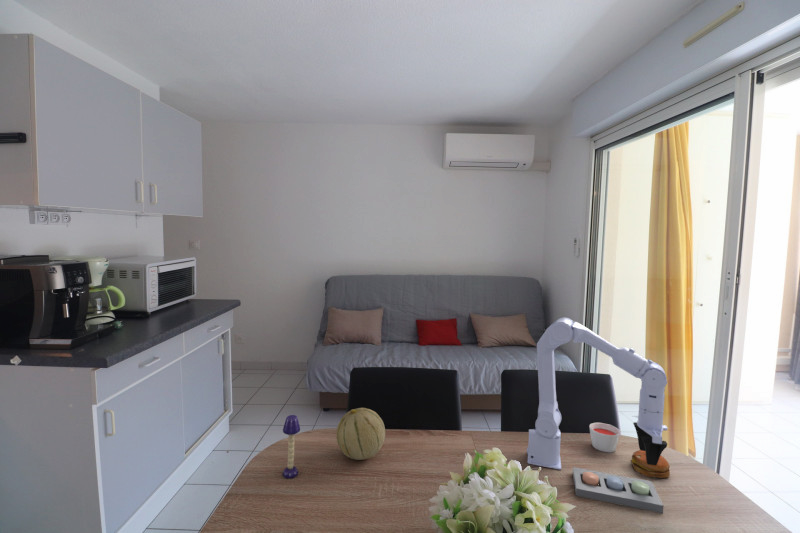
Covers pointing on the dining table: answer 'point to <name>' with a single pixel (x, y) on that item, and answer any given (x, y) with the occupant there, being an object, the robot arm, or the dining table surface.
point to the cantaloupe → (360, 433)
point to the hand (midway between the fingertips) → (647, 457)
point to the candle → (604, 436)
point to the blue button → (614, 483)
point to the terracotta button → (590, 478)
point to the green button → (640, 488)
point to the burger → (650, 470)
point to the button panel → (617, 491)
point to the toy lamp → (291, 444)
